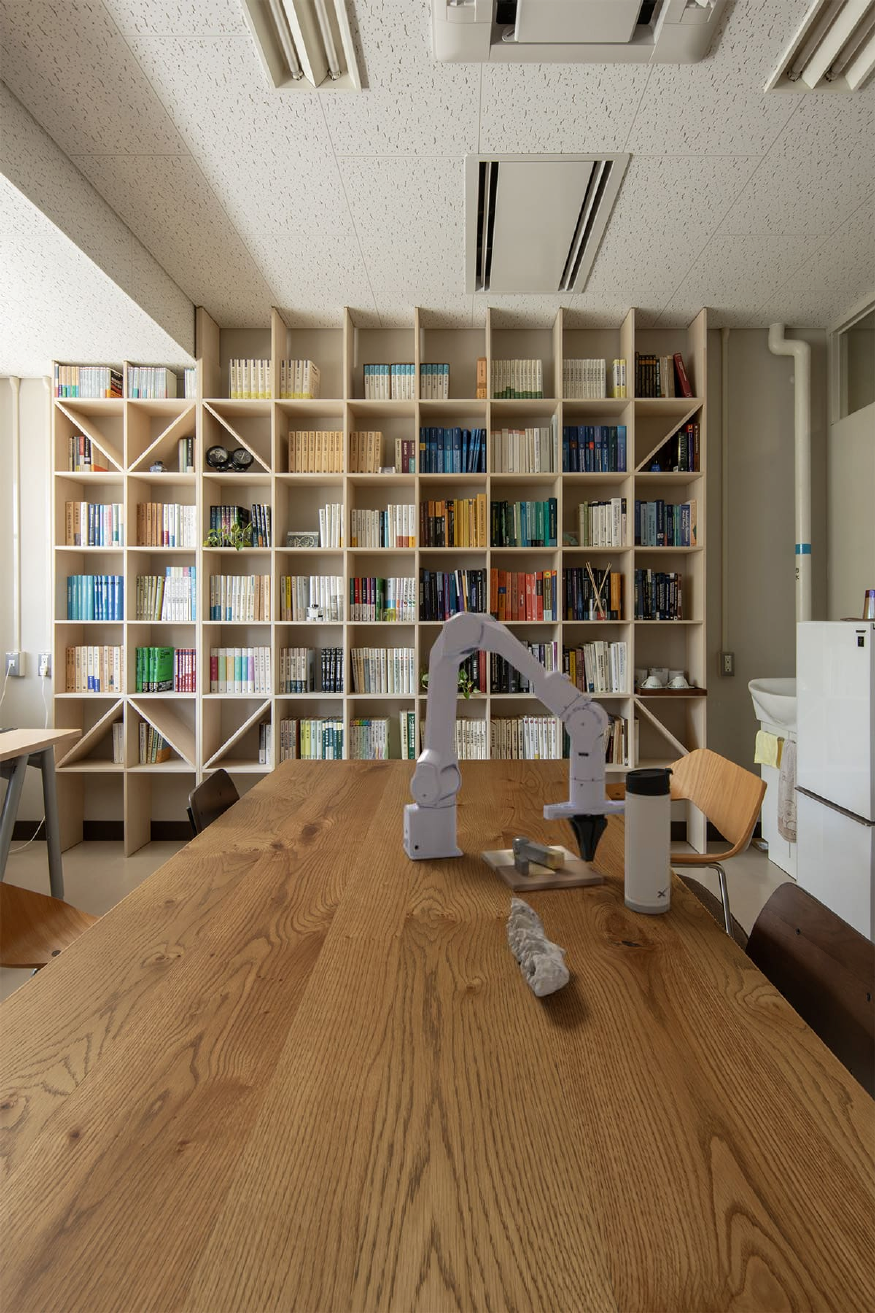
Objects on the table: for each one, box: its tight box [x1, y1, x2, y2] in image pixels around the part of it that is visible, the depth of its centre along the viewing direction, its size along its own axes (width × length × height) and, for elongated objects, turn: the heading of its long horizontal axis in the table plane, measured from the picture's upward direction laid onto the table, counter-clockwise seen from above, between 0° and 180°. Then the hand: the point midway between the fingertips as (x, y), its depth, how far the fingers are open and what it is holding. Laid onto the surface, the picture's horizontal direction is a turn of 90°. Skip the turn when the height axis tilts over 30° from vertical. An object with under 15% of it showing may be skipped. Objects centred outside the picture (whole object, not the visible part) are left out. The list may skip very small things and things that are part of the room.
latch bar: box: [512, 836, 565, 869], centre depth 118 cm, size 10×3×3 cm, turn 35°
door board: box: [481, 845, 605, 893], centre depth 117 cm, size 15×17×3 cm
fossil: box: [505, 897, 570, 997], centre depth 82 cm, size 21×6×5 cm, turn 4°
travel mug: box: [624, 767, 674, 915], centre depth 101 cm, size 6×7×20 cm
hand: (587, 860), depth 115 cm, fingers closed
